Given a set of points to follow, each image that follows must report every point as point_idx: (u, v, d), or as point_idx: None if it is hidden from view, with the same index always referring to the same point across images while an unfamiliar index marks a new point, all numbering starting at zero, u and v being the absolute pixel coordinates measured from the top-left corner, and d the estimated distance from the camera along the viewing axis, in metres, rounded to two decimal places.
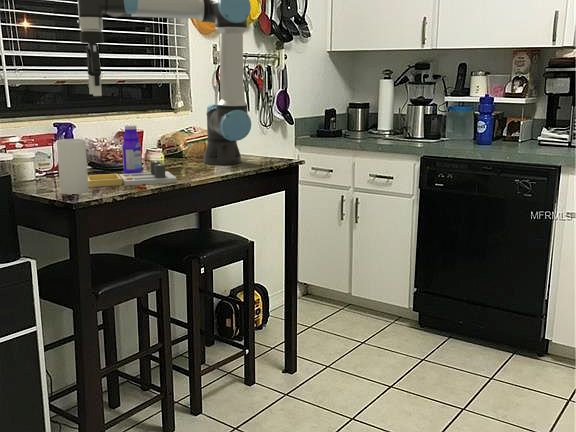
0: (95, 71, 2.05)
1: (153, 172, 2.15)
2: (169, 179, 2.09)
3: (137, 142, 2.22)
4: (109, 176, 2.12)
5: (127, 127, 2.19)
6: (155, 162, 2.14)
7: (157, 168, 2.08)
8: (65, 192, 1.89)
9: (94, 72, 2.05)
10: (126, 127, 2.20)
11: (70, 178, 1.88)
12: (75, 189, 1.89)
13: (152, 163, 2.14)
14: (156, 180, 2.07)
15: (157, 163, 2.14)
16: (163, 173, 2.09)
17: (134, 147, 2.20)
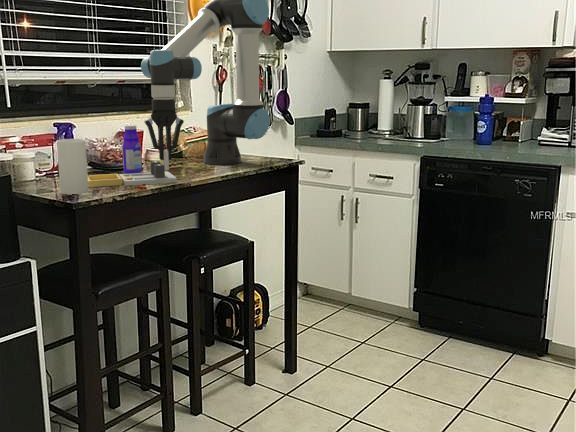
0: (153, 145, 2.07)
1: (153, 172, 2.15)
2: (169, 179, 2.09)
3: (137, 142, 2.22)
4: (109, 176, 2.12)
5: (127, 127, 2.19)
6: (155, 162, 2.14)
7: (156, 168, 2.08)
8: (65, 192, 1.89)
9: (153, 146, 2.08)
10: (126, 127, 2.20)
11: (70, 178, 1.88)
12: (75, 189, 1.89)
13: (152, 163, 2.14)
14: (156, 180, 2.07)
15: (157, 163, 2.14)
16: (162, 173, 2.09)
17: (134, 147, 2.20)
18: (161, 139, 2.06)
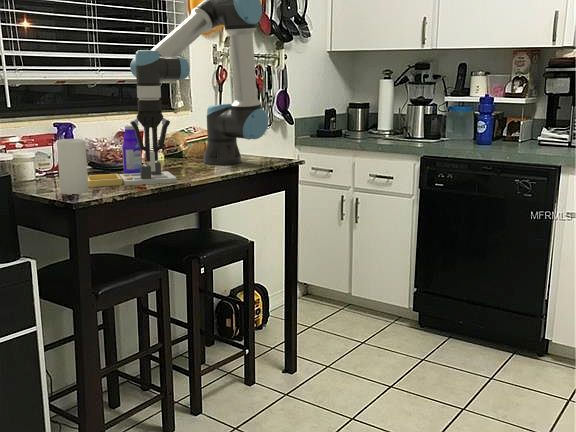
0: (140, 146, 2.06)
1: (153, 172, 2.15)
2: (169, 179, 2.09)
3: (137, 142, 2.22)
4: (109, 176, 2.12)
5: (127, 127, 2.19)
6: (155, 162, 2.14)
7: (143, 169, 2.06)
8: (65, 192, 1.89)
9: (139, 147, 2.06)
10: (126, 127, 2.20)
11: (70, 178, 1.88)
12: (75, 189, 1.89)
13: None
14: (156, 180, 2.07)
15: (157, 163, 2.14)
16: (149, 174, 2.07)
17: (134, 147, 2.20)
18: (147, 140, 2.05)
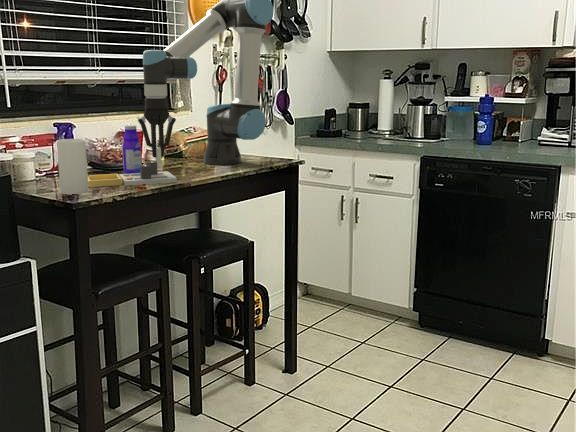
0: (146, 143, 2.13)
1: None
2: (169, 179, 2.09)
3: (137, 142, 2.22)
4: (109, 176, 2.12)
5: (127, 127, 2.19)
6: (151, 162, 2.14)
7: (143, 169, 2.06)
8: (65, 192, 1.89)
9: (146, 144, 2.14)
10: (126, 127, 2.20)
11: (70, 178, 1.88)
12: (75, 189, 1.89)
13: (148, 163, 2.13)
14: (156, 180, 2.07)
15: (153, 163, 2.14)
16: (149, 174, 2.07)
17: (134, 147, 2.20)
18: (154, 137, 2.12)
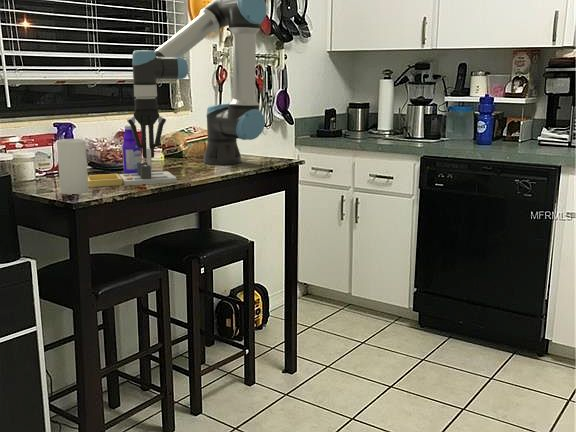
0: (136, 144, 2.12)
1: (139, 173, 2.13)
2: (169, 179, 2.09)
3: None
4: (109, 176, 2.12)
5: (127, 127, 2.19)
6: (141, 163, 2.13)
7: (143, 169, 2.06)
8: (65, 192, 1.89)
9: None
10: (126, 127, 2.20)
11: (70, 178, 1.88)
12: (75, 189, 1.89)
13: (138, 164, 2.12)
14: (156, 180, 2.07)
15: (143, 164, 2.13)
16: (149, 174, 2.07)
17: (134, 147, 2.20)
18: (144, 137, 2.11)
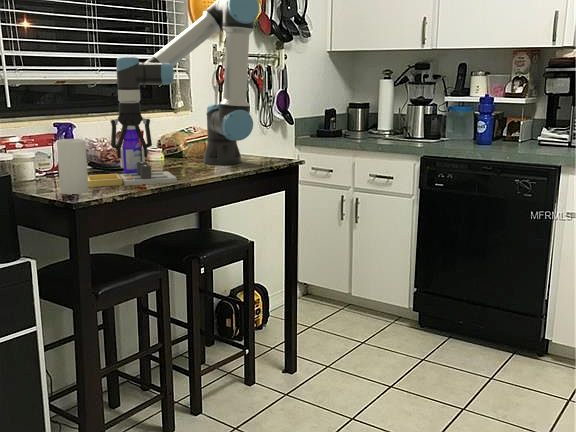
0: (111, 145, 2.21)
1: (139, 173, 2.13)
2: (169, 179, 2.09)
3: (137, 142, 2.22)
4: (109, 176, 2.12)
5: (127, 127, 2.19)
6: (141, 163, 2.13)
7: (143, 169, 2.06)
8: (65, 192, 1.89)
9: (111, 145, 2.21)
10: None
11: (70, 178, 1.88)
12: (75, 189, 1.89)
13: (138, 164, 2.12)
14: (156, 180, 2.07)
15: (143, 164, 2.13)
16: (149, 174, 2.07)
17: (134, 147, 2.20)
18: (121, 139, 2.20)
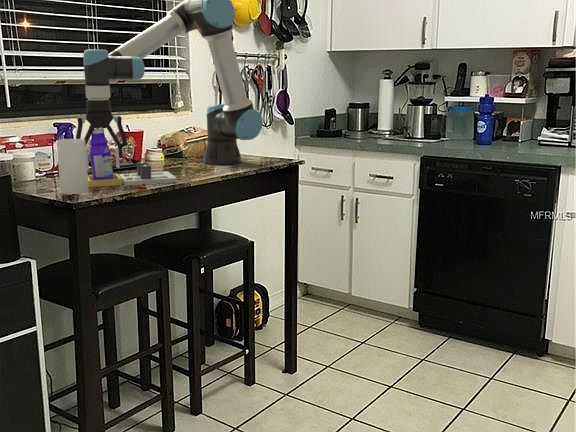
0: None
1: (139, 173, 2.13)
2: (169, 179, 2.09)
3: (106, 147, 2.04)
4: None
5: (93, 131, 2.01)
6: (141, 163, 2.13)
7: (143, 169, 2.06)
8: (65, 192, 1.89)
9: None
10: None
11: (70, 178, 1.88)
12: (75, 189, 1.89)
13: (138, 164, 2.12)
14: (156, 180, 2.07)
15: (143, 164, 2.13)
16: (149, 174, 2.07)
17: (103, 152, 2.02)
18: (86, 138, 2.01)
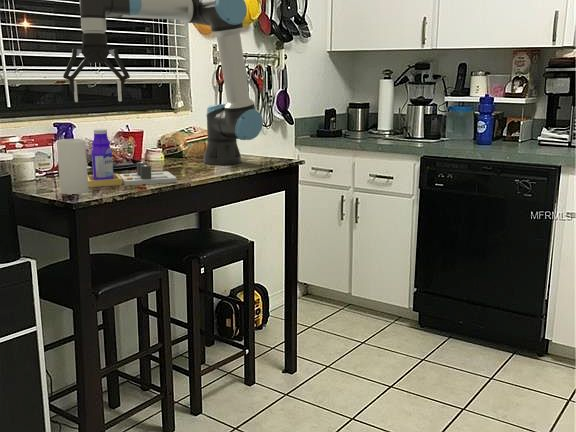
0: (63, 75, 1.96)
1: (139, 173, 2.13)
2: (169, 179, 2.09)
3: (108, 148, 2.04)
4: None
5: (96, 131, 2.01)
6: (141, 163, 2.13)
7: (143, 169, 2.06)
8: (65, 192, 1.89)
9: (63, 76, 1.96)
10: (95, 131, 2.02)
11: (70, 178, 1.88)
12: (75, 189, 1.89)
13: (138, 164, 2.12)
14: (156, 180, 2.07)
15: (143, 164, 2.13)
16: (149, 174, 2.07)
17: (105, 153, 2.02)
18: (77, 70, 1.96)
